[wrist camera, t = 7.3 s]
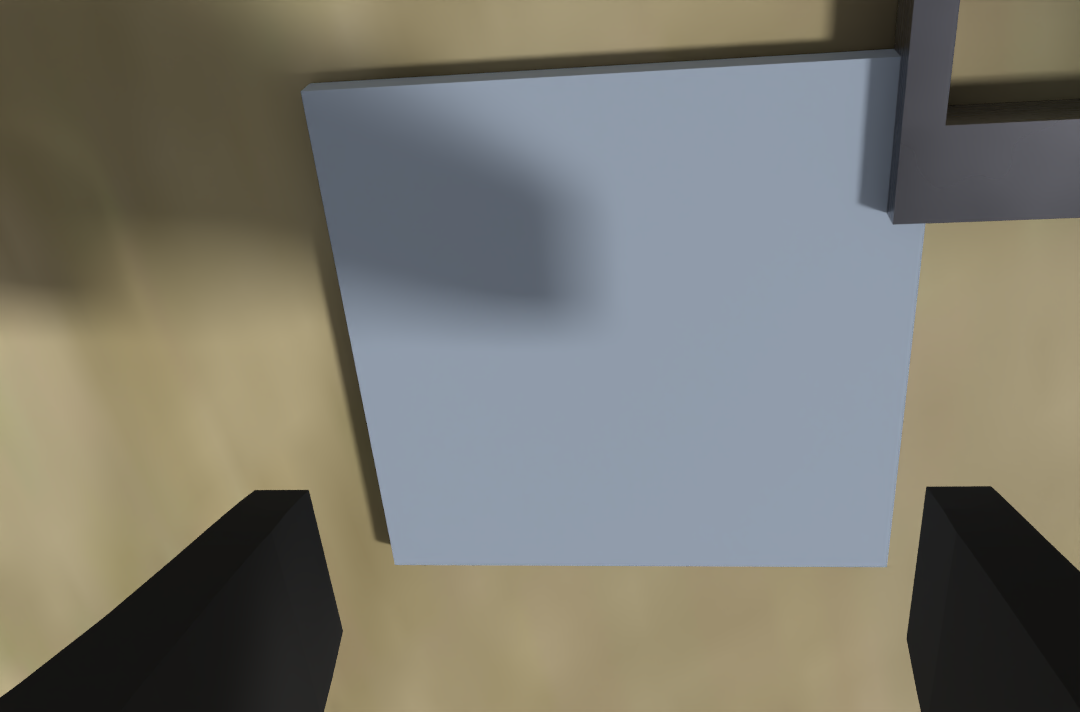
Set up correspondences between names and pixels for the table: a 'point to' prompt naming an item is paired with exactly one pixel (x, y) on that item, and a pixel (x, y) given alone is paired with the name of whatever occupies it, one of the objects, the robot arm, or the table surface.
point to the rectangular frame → (972, 139)
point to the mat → (627, 308)
